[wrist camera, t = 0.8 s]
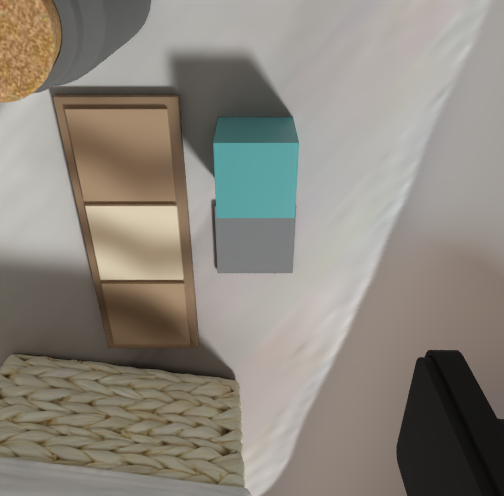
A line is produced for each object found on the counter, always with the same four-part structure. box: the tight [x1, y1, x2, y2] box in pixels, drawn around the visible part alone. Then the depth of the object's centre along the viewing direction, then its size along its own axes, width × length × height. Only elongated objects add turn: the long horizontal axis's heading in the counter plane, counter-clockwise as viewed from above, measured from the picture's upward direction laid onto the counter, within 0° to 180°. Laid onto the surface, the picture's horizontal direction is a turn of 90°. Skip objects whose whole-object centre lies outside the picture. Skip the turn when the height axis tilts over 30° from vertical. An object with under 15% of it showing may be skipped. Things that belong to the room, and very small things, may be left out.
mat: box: [214, 204, 296, 273], centre depth 37 cm, size 6×6×1 cm
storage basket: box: [0, 354, 251, 496], centre depth 42 cm, size 24×16×15 cm
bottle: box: [0, 0, 151, 102], centre depth 22 cm, size 6×6×15 cm
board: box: [53, 95, 199, 348], centre depth 37 cm, size 22×8×1 cm, turn 0°
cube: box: [213, 117, 299, 218], centre depth 31 cm, size 5×5×5 cm
